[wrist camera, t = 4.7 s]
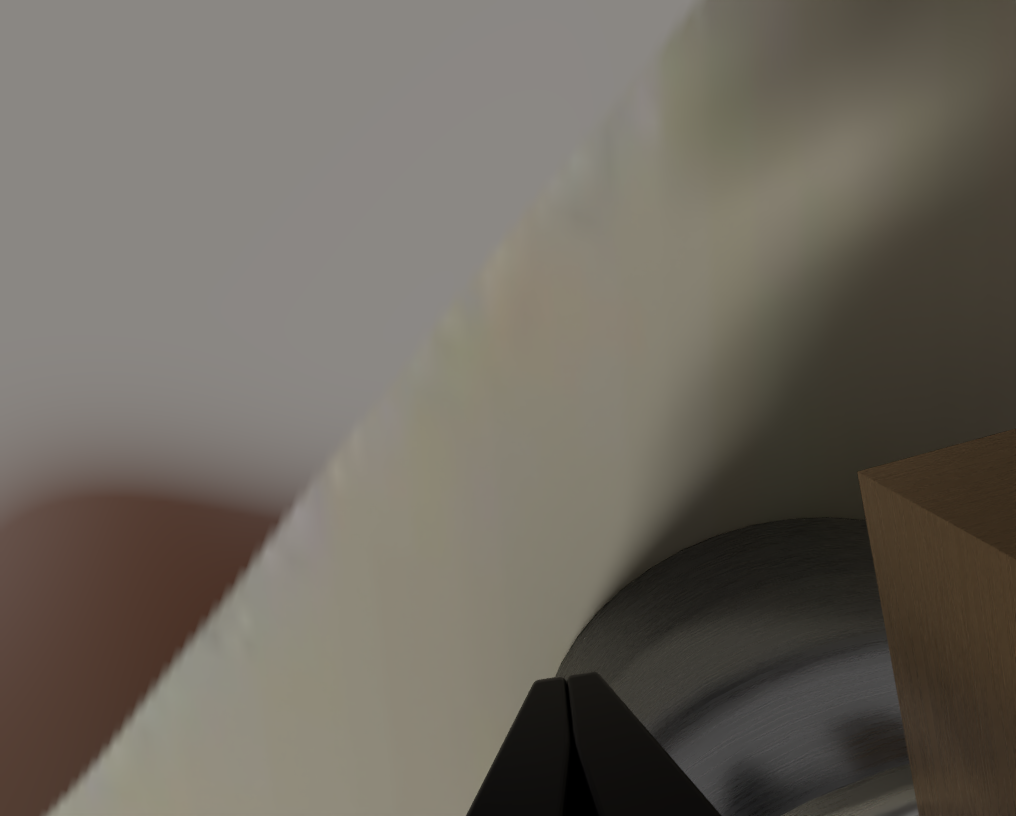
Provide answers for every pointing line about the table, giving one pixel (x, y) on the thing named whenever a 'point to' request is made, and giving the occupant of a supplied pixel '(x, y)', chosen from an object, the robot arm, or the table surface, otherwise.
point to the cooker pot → (757, 663)
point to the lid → (945, 631)
